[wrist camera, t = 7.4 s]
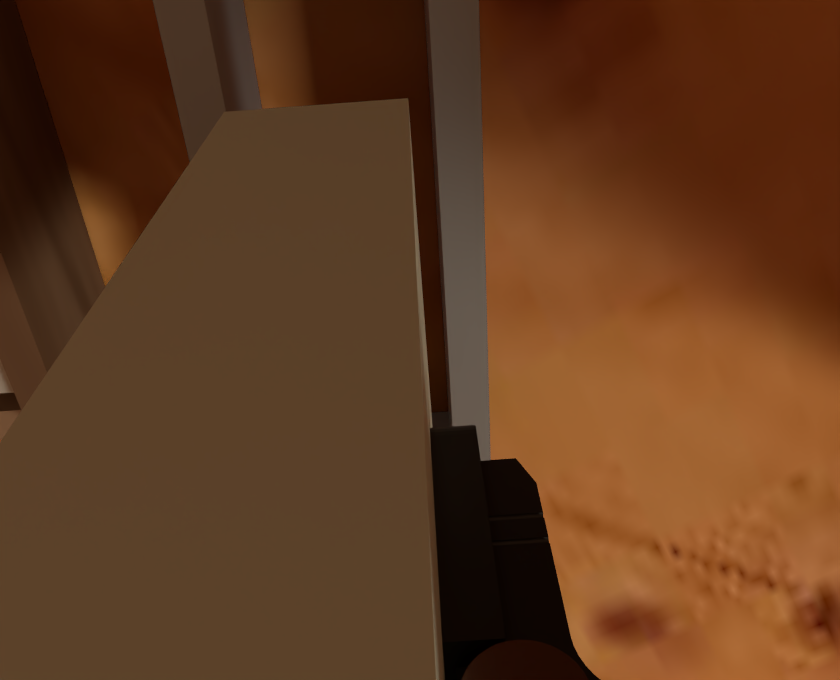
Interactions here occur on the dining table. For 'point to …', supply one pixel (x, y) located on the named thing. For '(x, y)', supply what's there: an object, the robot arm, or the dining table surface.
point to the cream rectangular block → (239, 429)
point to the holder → (452, 154)
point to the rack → (35, 229)
